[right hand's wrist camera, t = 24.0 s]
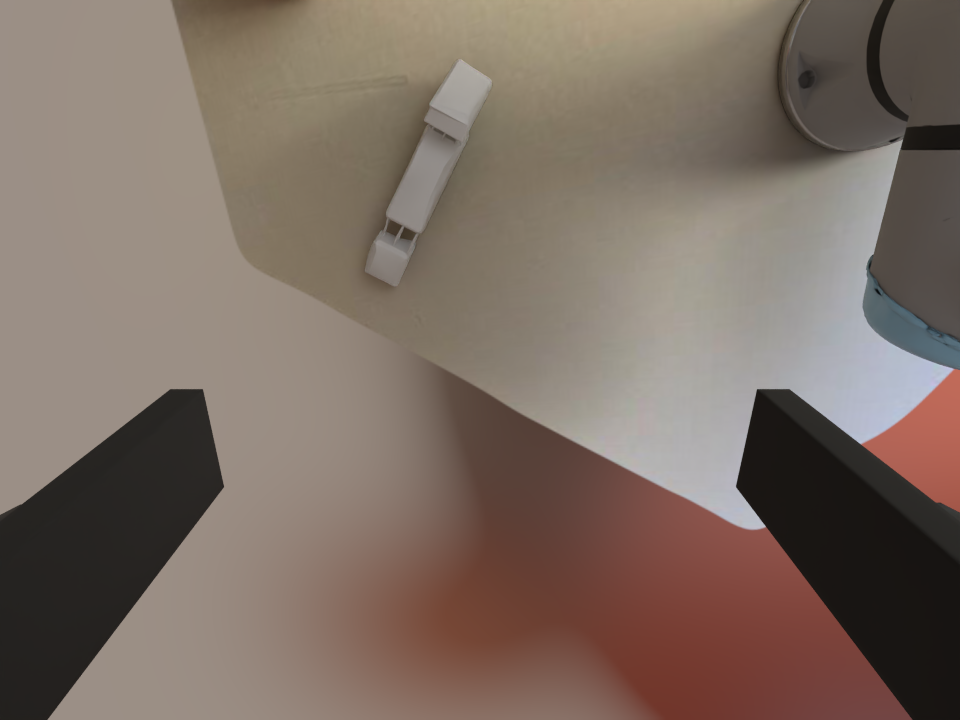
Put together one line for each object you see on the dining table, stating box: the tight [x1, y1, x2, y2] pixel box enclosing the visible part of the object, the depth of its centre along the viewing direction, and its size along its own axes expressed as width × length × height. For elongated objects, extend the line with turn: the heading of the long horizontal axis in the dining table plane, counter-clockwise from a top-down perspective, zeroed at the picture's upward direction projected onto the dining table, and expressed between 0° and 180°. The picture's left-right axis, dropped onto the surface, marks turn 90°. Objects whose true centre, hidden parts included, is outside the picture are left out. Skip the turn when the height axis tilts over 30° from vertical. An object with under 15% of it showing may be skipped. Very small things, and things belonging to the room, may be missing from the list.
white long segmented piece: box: [364, 59, 492, 287], centre depth 46 cm, size 20×4×7 cm, turn 153°
